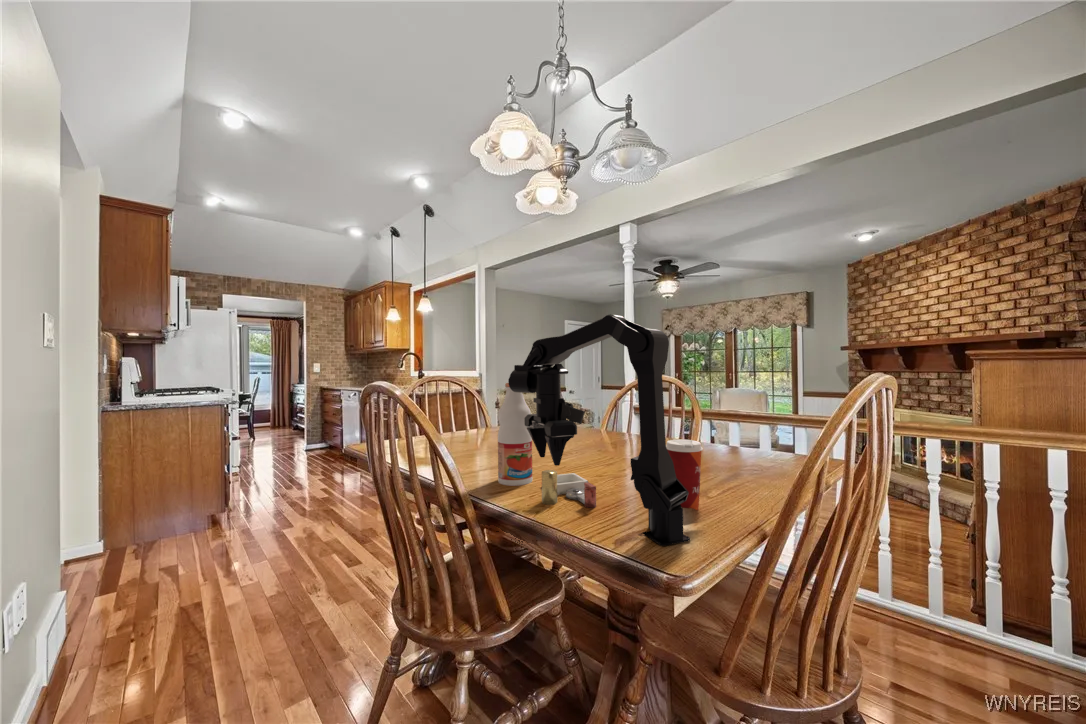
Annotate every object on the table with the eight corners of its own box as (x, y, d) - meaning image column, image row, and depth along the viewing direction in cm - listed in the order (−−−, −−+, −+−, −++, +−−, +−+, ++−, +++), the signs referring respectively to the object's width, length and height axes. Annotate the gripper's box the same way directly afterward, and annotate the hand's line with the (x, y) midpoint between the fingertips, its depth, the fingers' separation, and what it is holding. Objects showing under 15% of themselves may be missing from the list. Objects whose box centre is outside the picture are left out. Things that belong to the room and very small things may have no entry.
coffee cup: (709, 514, 92) (708, 445, 92) (671, 514, 93) (670, 445, 93) (696, 501, 101) (695, 438, 101) (661, 502, 101) (660, 438, 101)
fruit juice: (517, 478, 124) (516, 381, 124) (539, 484, 117) (538, 382, 117) (491, 484, 117) (490, 383, 117) (512, 492, 110) (511, 384, 110)
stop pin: (559, 503, 98) (559, 473, 98) (545, 505, 96) (544, 474, 96) (553, 498, 101) (553, 469, 101) (539, 500, 100) (539, 471, 100)
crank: (562, 494, 104) (562, 475, 104) (581, 492, 106) (580, 472, 106) (583, 510, 93) (583, 488, 93) (604, 507, 95) (603, 485, 95)
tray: (588, 490, 107) (588, 481, 107) (557, 495, 104) (556, 484, 104) (574, 482, 115) (574, 472, 115) (544, 485, 112) (544, 476, 112)
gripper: (598, 395, 93) (599, 466, 93) (564, 390, 110) (565, 450, 110) (550, 397, 89) (552, 471, 89) (523, 392, 106) (524, 454, 106)
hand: (549, 461), depth 99 cm, fingers open, 9 cm apart
